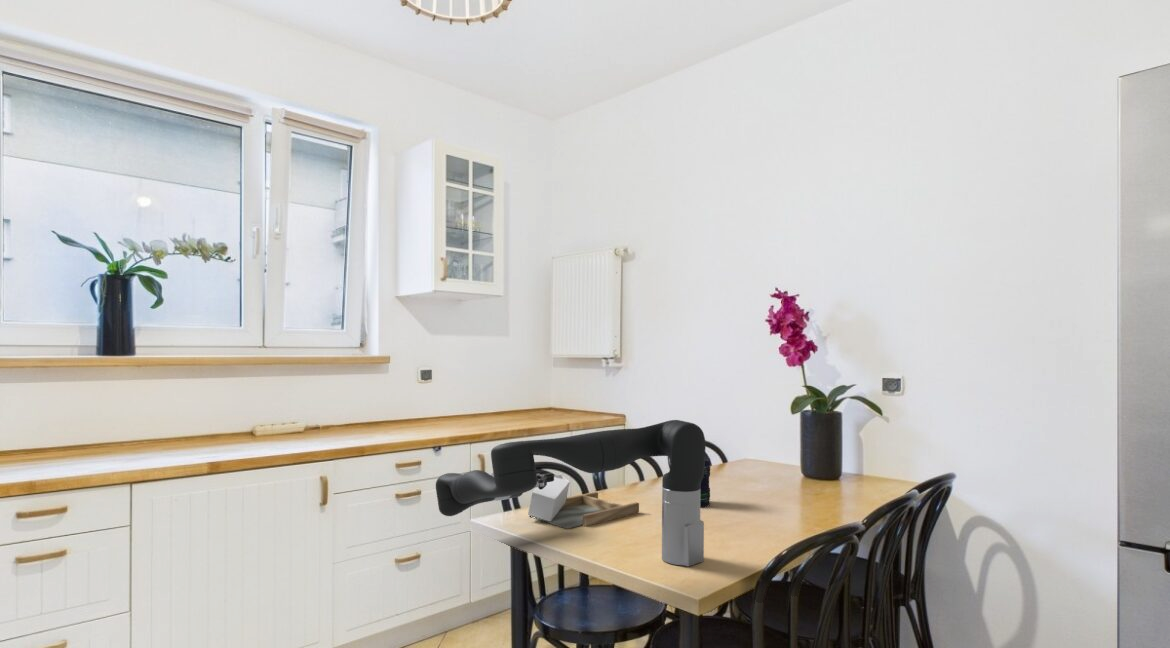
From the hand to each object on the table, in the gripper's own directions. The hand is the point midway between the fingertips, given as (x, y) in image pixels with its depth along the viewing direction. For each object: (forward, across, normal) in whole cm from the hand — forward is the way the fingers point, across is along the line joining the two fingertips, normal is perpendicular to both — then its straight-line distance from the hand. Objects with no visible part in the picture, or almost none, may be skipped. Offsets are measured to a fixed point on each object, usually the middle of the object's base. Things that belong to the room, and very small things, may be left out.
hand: (552, 477), depth 181 cm
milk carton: (-4, +1, +8) cm, 9 cm away
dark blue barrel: (+50, -14, +13) cm, 54 cm away
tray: (+13, 0, +13) cm, 18 cm away
